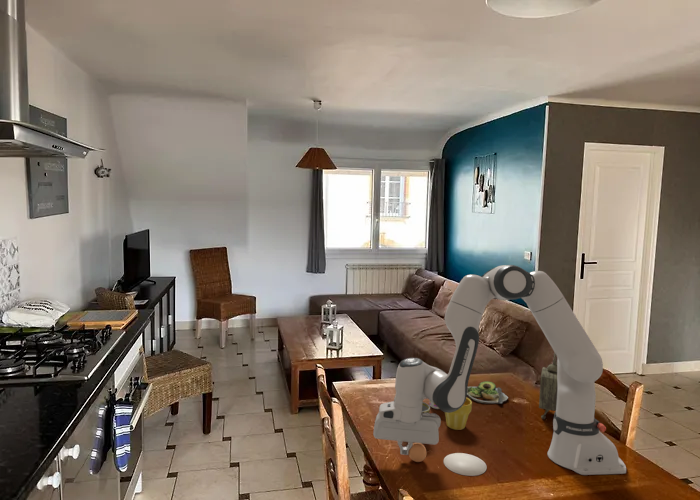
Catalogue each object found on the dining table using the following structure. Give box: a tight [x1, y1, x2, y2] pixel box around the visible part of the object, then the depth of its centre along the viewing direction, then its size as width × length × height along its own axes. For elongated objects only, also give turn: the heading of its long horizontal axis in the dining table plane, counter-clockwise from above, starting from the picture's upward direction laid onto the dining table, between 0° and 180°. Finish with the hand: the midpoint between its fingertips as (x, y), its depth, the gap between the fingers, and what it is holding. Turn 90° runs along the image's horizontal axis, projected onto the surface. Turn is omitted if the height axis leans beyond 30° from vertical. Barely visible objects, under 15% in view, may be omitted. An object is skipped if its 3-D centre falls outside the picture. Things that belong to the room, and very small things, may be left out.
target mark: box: [443, 452, 488, 477], centre depth 148 cm, size 13×13×1 cm
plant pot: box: [444, 396, 473, 431], centre depth 175 cm, size 10×10×10 cm
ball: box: [408, 442, 427, 463], centre depth 149 cm, size 6×6×6 cm
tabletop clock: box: [538, 352, 558, 420], centre depth 186 cm, size 14×9×25 cm, turn 155°
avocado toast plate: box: [467, 380, 509, 405], centre depth 204 cm, size 19×18×5 cm
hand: (404, 453), depth 149 cm, fingers closed
